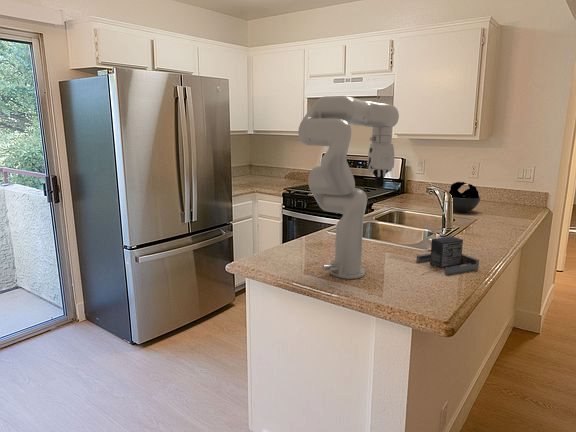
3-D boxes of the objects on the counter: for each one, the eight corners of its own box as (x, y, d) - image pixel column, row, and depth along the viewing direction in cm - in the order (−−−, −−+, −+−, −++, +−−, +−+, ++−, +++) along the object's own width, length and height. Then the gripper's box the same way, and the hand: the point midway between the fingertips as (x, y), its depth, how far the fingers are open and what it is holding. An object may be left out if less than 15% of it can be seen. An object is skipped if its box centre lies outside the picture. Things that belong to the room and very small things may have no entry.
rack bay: (447, 275, 155) (448, 264, 154) (416, 261, 170) (417, 251, 169) (478, 269, 161) (479, 259, 160) (445, 257, 176) (445, 247, 175)
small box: (449, 260, 171) (451, 235, 169) (461, 265, 166) (464, 239, 163) (428, 263, 167) (431, 238, 165) (440, 269, 161) (443, 242, 159)
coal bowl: (444, 207, 281) (447, 179, 277) (477, 210, 274) (480, 181, 270) (444, 213, 262) (447, 183, 258) (480, 216, 256) (483, 185, 252)
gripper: (371, 140, 160) (368, 188, 164) (403, 140, 166) (400, 186, 170) (360, 139, 167) (358, 186, 171) (391, 139, 173) (388, 184, 177)
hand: (379, 186), depth 170 cm, fingers closed
